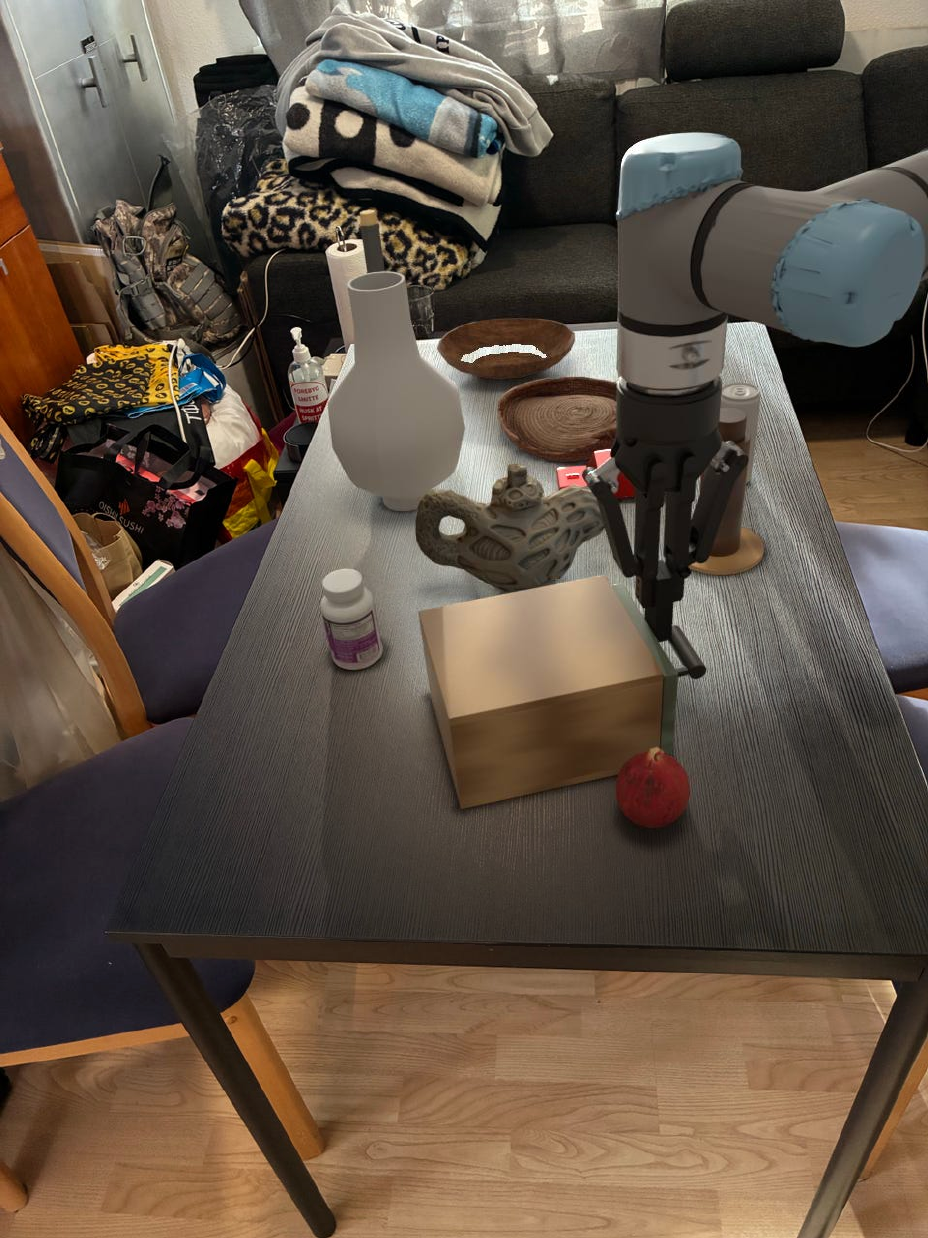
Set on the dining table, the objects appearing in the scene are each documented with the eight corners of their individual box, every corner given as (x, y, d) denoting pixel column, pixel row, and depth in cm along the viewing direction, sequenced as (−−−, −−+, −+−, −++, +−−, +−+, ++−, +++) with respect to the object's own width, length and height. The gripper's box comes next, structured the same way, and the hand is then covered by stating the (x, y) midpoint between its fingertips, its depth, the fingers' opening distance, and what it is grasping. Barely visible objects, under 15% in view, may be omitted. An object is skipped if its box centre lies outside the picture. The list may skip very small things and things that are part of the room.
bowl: (455, 345, 162) (452, 317, 159) (583, 345, 157) (582, 316, 154) (427, 394, 147) (423, 364, 144) (567, 396, 142) (566, 364, 139)
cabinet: (605, 661, 93) (605, 574, 87) (658, 765, 82) (663, 673, 75) (431, 697, 91) (418, 610, 85) (461, 809, 80) (448, 718, 73)
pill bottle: (336, 640, 100) (319, 565, 94) (385, 637, 99) (372, 562, 93) (328, 673, 95) (310, 597, 90) (380, 671, 95) (365, 594, 89)
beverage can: (711, 488, 117) (718, 398, 110) (712, 469, 121) (719, 381, 114) (751, 490, 116) (761, 399, 109) (751, 470, 120) (761, 382, 112)
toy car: (666, 478, 120) (668, 443, 117) (673, 501, 116) (675, 465, 113) (556, 487, 121) (555, 452, 118) (559, 509, 116) (558, 474, 113)
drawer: (663, 646, 93) (667, 573, 87) (720, 739, 82) (728, 663, 77) (457, 689, 90) (448, 617, 85) (488, 790, 80) (480, 715, 74)
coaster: (779, 565, 103) (780, 560, 103) (693, 582, 102) (693, 577, 102) (739, 519, 111) (740, 515, 111) (659, 535, 110) (659, 530, 110)
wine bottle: (429, 412, 142) (404, 201, 124) (419, 436, 136) (390, 218, 117) (377, 412, 143) (345, 204, 125) (365, 437, 137) (329, 222, 119)
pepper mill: (746, 552, 105) (761, 420, 95) (705, 560, 104) (716, 428, 94) (728, 530, 108) (740, 401, 99) (689, 538, 108) (697, 409, 98)
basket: (480, 459, 129) (477, 425, 126) (519, 396, 143) (518, 365, 140) (645, 471, 122) (646, 437, 119) (669, 404, 137) (670, 372, 134)
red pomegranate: (676, 857, 74) (681, 788, 69) (606, 836, 76) (606, 768, 71) (694, 803, 78) (701, 735, 73) (627, 785, 80) (629, 717, 75)
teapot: (598, 540, 110) (597, 423, 101) (626, 597, 101) (629, 473, 92) (418, 570, 109) (401, 453, 100) (430, 630, 100) (413, 507, 90)
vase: (473, 463, 128) (453, 252, 111) (469, 528, 115) (446, 300, 98) (352, 471, 129) (314, 263, 112) (335, 536, 116) (289, 312, 99)
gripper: (599, 411, 64) (599, 672, 78) (778, 380, 66) (746, 642, 80) (567, 370, 70) (573, 620, 84) (732, 342, 71) (710, 592, 86)
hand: (657, 630), depth 82 cm, fingers closed
